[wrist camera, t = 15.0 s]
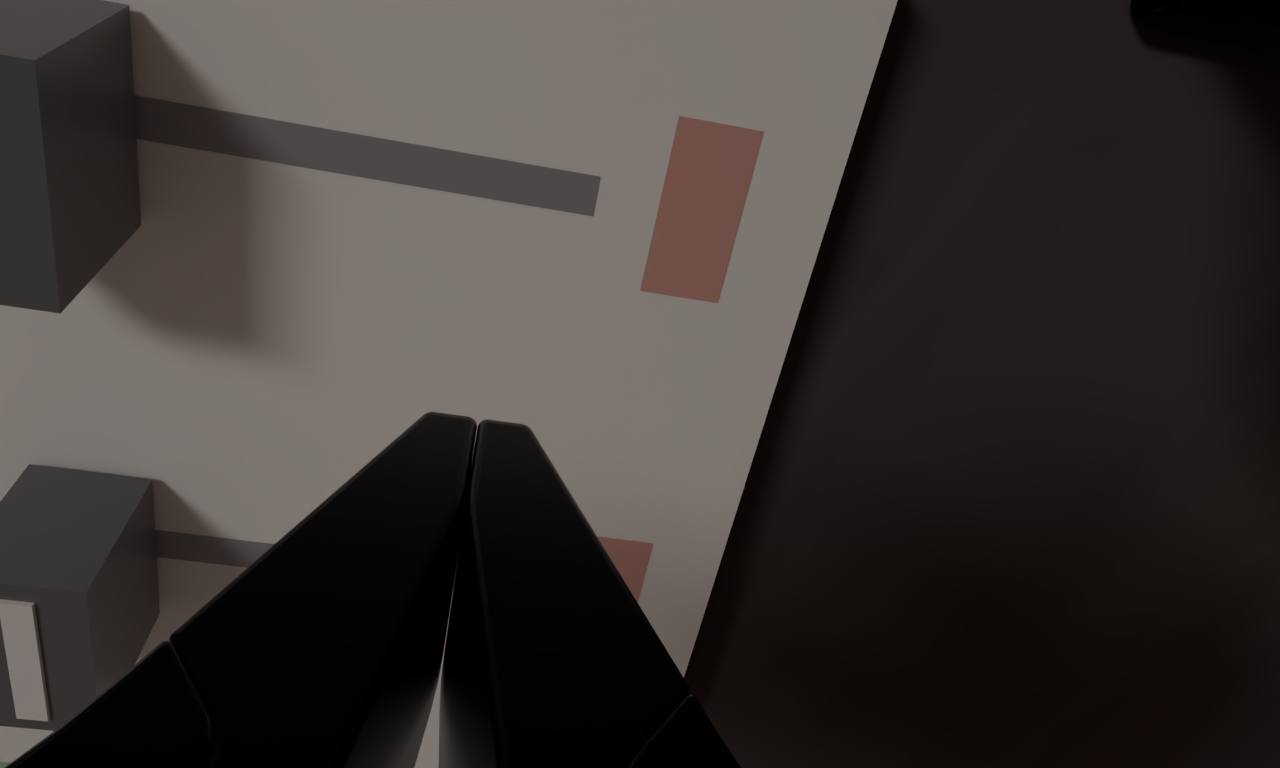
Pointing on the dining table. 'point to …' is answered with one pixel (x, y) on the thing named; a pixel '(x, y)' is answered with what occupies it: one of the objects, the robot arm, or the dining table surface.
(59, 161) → the block
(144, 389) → the switch panel
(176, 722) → the robot arm
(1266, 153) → the dining table surface
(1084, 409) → the dining table surface
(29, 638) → the block
